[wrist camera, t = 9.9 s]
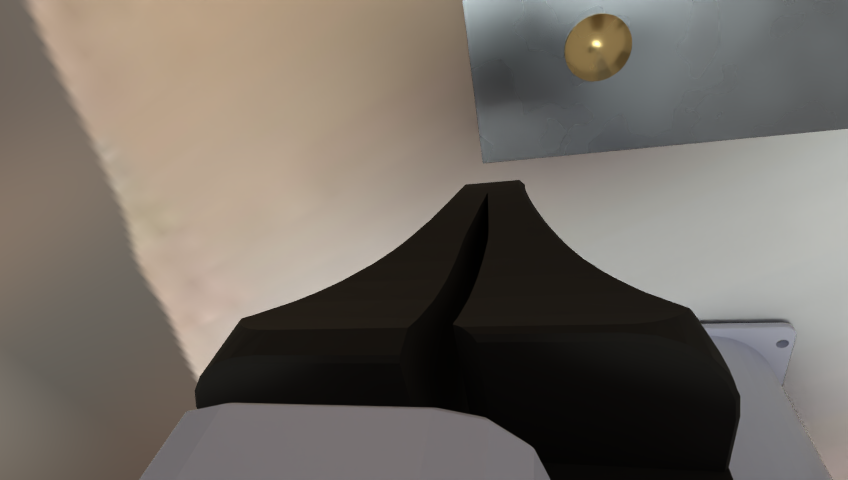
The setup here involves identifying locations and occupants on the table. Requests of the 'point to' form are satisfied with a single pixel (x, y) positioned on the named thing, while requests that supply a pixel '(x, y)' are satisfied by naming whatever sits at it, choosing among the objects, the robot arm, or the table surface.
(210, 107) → the table surface
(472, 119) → the table surface
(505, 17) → the steel plate with brass
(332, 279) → the table surface
